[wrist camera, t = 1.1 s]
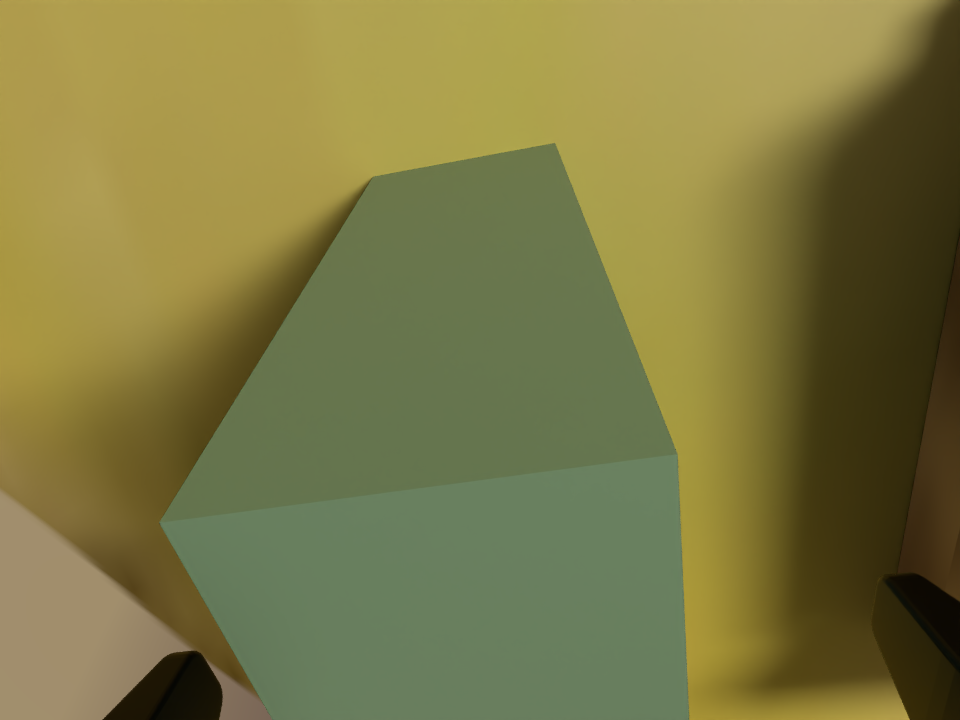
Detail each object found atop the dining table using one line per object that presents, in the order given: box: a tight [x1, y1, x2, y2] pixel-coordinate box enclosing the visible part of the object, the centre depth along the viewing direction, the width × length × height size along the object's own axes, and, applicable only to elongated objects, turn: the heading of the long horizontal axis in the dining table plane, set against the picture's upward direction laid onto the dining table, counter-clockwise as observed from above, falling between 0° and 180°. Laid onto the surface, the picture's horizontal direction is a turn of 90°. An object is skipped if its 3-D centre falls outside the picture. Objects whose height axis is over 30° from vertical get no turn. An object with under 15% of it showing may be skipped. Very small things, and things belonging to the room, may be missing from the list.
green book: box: [159, 143, 689, 720], centre depth 10 cm, size 10×3×8 cm, turn 10°
